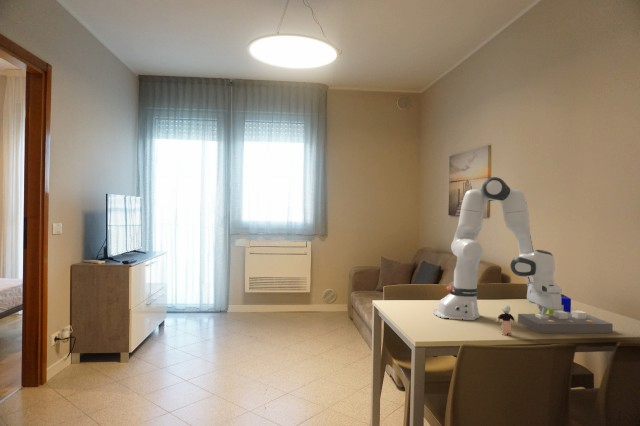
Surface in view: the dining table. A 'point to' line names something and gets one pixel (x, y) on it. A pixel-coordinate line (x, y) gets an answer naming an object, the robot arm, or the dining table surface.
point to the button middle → (561, 314)
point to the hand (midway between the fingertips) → (542, 315)
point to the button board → (565, 324)
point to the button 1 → (541, 316)
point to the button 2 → (579, 314)
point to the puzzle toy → (563, 305)
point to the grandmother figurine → (506, 320)
